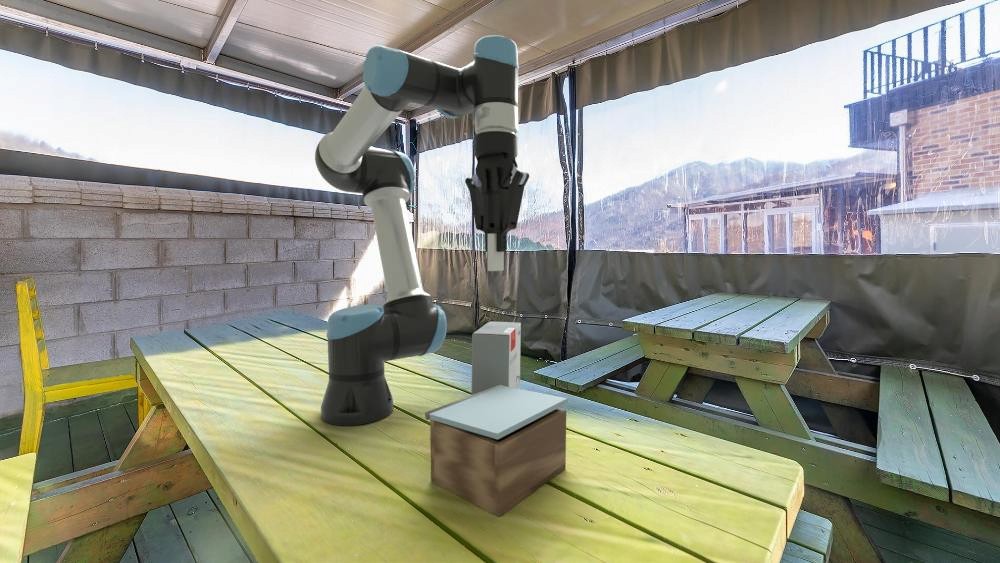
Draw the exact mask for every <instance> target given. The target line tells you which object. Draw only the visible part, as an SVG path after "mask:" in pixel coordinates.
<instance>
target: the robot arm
mask: <svg viewBox="0 0 1000 563" xmlns="http://www.w3.org/2000/svg"><path fill="white" fill-rule="evenodd" d="M473 49H474V51H473V54H472V55H473V61H472V62H470V63H469V64H467V65H465V66H463V67H462V68H458V67H454V66H450V65H448V64H444V63H441V62H438V61H435V60H431V59H428V58H425V57H422V56H419V55H416V54H412V53H410V52H407V51H403V50H401V49H399V48H396V47H388V46H385V45H373V46H372V47H370V48H369V50H368V51H367V52H366V56H365V60H364V61H363V67H362V69H363V70H362V78H363V84H364V87H363V88H362V90H361V92H360V93H359V94H358V95H357V97H356V99H355V100H354V101H353V102H352V104H351V105H350V107H349V108H348V110H347V112H345V114H344V115H343V117H342V118H341V119H340V121H339V123H337V125H336V127H335V128H334V130H333V131H332V132H329V133H326V134H325V135H324V136H322V138H321V139H320V141H318V144H317V146H316V149H315V152H314V153H315V154H314V160H315V165H316V168H317V170H318V172H319V175H320V176H321V177H322V179H323V180H324V181H325V182H327V184H329V185H330V186H332V187H333V188H335V189H337V190H339V191H342V192H345V193H354V194H355V193H357V194H362V197H363V203H364V204H365V206H367V207H368V208H370V209H371V213H372V218H373V223H374V229H375V233H376V240H377V243H378V244H377V245H378V250H379V256H380V262H381V267H382V272H383V277H384V283H385V287H386V292H387V293H386V294H387V298H386V300H384V303H383V304H378V303H368V304H359V305H353V306H348V307H344V308H341V309H337V310H336V311H334V312H333V313H331V315H329V317H328V318H327V330H326V331H327V332H326V339H327V358H328V360H327V361H328V362H327V363H328V383H327V385H326V390H325V393H324V396H323V398H322V399H323V400H322V403H321V406H320V416H321V420H322V421H324V422H325V423H327V424H330V425H335V426H357V425H358V426H359V425H365V424H370V423H375V422H377V421H380V420H382V419H384V418H386V417H388V416H390V415H391V413H393V411H394V399H393V395H392V392H391V390H390V388H389V385H388V382H387V379H386V377H385V374H386V373H385V362H389V361H397V360H400V359H406V358H412V357H417V356H418V357H423V356H425V355H429V354H432V353H435V352H437V351H438V350H440V349H441V347H442V346H443V343H444V342H445V338H446V336H447V330H448V329H447V328H448V327H447V317H446V312H445V311H444V310H443V308H442V307H441V306H440V305H437V304H433V300H432V296H431V294H429V293H428V292H426V291H425V290H424V287H423V283H422V282H423V281H422V276H421V273H420V267H419V262H418V258H417V252H416V247H415V244H414V243H415V242H414V238H413V237H414V236H413V232H412V228H411V227H412V226H411V223H410V219H409V213H408V208H407V204H406V203H408V201H409V200H410V198H411V194H413V192H414V189H415V187H416V186H415V185H416V183H415V182H416V181H415V180H416V173H415V168H414V165H413V163H412V160H411V159H410V158H409V156H408V155H407V154H406V153H403V152H401V151H396V150H394V149H392V148H386V149H383V148H378V147H372V146H373V145H374V143H375V142H376V141H377V140H378V139H379V138H380V137H381V135H382V134H384V132H385V131H386V130H387V129H388V128H389V127H390V125H392V123H393V122H394V121H395V120H396V119H397V117H398V116H399V115H400V114H401V113H402V112H403V111H404V110H405V109H406V108H407V107H408V106H409V105H410V103H413V104H416V105H417V104H418V105H421V106H427V107H431V108H434V109H436V111H437V112H439V113H440V114H441V115H442V116H443V117H445V118H448V119H457V118H462V117H466V116H467V115H469V114H472V113H473V112H474V132H475V133H476V135H475V136H474V139H473V140H474V147H473V148H474V149H473V151H474V152H473V153H474V154H473V155H474V157H475V159H476V160H477V161H476V162H477V163H476V167H475V173H474V174H473V175H472V176H471V177H466V178H465V179H464V180H465V181H464V183H465V184H466V186H467V188H468V190H469V196H470V202H471V207H472V212H473V218H474V223H475V224H474V225H475V229H476V230H477V231H481V232H483V233H484V250H485V252H487V272H501V271H504V270H505V252H507V249H508V246H507V245H508V242H507V241H508V238H507V236H508V233H509V232H510V231H513V230H516V229H517V226H518V221H519V215H520V212H521V207H522V200H523V195H524V191H525V186H526V184H527V183H528V181H529V178H530V173H529V172H526V171H522V170H521V169H519V168H518V163H517V160H516V158H517V156H518V147H519V146H518V144H519V143H518V139H519V138H518V136H517V135H516V134H517V133H518V131H519V116H518V115H519V106H518V104H519V103H518V102H519V99H518V98H519V69H520V66H519V53H518V46H517V44H516V42H514V40H512V39H511V38H508V37H506V36H503V35H495V34H494V35H486V36H482V37H481V38H480V39H478V40H477V41H476V42H475V44H474V48H473Z"/></svg>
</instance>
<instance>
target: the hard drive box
mask: <svg viewBox="0 0 1000 563" xmlns="http://www.w3.org/2000/svg"><path fill="white" fill-rule="evenodd" d="M521 328H522V323H521V322H515V321H514V322H513V321H512V322H511V321H510V322H509V321H489V322H487V323H485V325H482V326H481V327H479V329H477V330H476V331H474V332H473V333H472V334H471V338H472V340H471V395H473V394H476V393H479V392H481V391H484V390H487V389H489V388H492V387H495V386H497V385H500V384H501V385H503V386H507V387H512V388H517V389H521V339H522V336H521V335H522V334H521V333H522V332H521V331H522V329H521ZM471 395H470V396H471Z"/></svg>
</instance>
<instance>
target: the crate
mask: <svg viewBox="0 0 1000 563" xmlns="http://www.w3.org/2000/svg"><path fill="white" fill-rule="evenodd" d="M429 420H430V422H429V423H430V424H429V425H430V426H429V428H430V429H429V430H430V432H429V433H430V438H429V440H430V482H431V483H433V484H435V485H437V486H438V487H440V488H442V489H445V490H447V491H448V492H450V493H452V494H454V495H456V496H458V497H460V498H461V499H464V500H465V501H467V502H469V503H470V504H473V505H475V506H477V507H480V509H482V510H485V511H487V512H488V513H490V514H493V515H495V516H496V517H498V518H501V517H502V516H504V515H505V514H506V513H508V512H509V511H510V510H512V509H513V508H514V507H516V506H517V505H518V504H520V503H521V502H522V501H524V500H525V499H526V498H528V497H529V496H531V495H532V494H533V493H535V492H536V491H538V490H539V489H540V488H542V487H543V486H544V485H545V484H547V483H548V482H550V481H551V480H552V479H554V478H555V477H556V476H557V475H559V474H560V473H562V472H563V471H564V470H566V467H567V466H566V460H567V459H566V458H567V457H566V454H567V452H566V450H567V409H564V408H562V407H559V408H557V409H555V410H553V411H552V412H550V413H548V414H546V415H544V416H542V417H540V418H538V419H536V420H534V421H532V422H530V423H529V424H527V425H525V426H523V427H521V428H519V429H517V430H515V431H513V432H511V433H509V434H507V435H506V436H504V437H502V438H500V439H498V440H497V439H494V438H491V437H487V436H484V435H481V434H477V433H474V432H471V431H467V430H464V429H461V428H457V427H454V426H451V425H447V424H444V423H441V422H437V421H434V420H431V419H429Z"/></svg>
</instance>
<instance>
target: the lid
mask: <svg viewBox="0 0 1000 563" xmlns="http://www.w3.org/2000/svg"><path fill="white" fill-rule="evenodd" d="M568 402H569V401H568V397H562V396H557V395H552V394H547V393H541V392H537V391H531V390H526V389H521V388H520V389H517V388H512V387H507V386H503V385H501V384H500V385H497V386H495V387H492V388H489V389H487V390H484V391H481V392H479V393H476V394H473V395H468V396H466V397H462V398H459V399H458V400H455V401H453V402H449V403H446V404H444V405H441V406H439V407H437V408H433V409H431V410H428V411H425V412H424V418H425V419H426V420H430V419H431V420H434V421H437V422H441V423H444V424H447V425H451V426H454V427H457V428H461V429H464V430H467V431H471V432H474V433H477V434H481V435H484V436H487V437H491V438H494V439H497V440H498V439H500V438H502V437H504V436H506V435H507V434H509V433H511V432H513V431H515V430H517V429H519V428H521V427H523V426H525V425H527V424H529V423H530V422H532V421H534V420H536V419H538V418H540V417H542V416H544V415H546V414H548V413H550V412H552V411H553V410H555V409H557V408H562V407H563V406H564V405H567V404H568Z"/></svg>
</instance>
